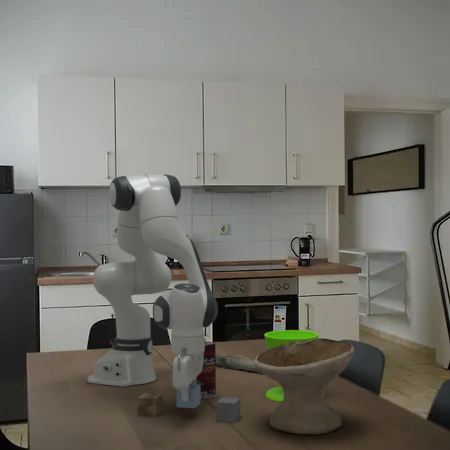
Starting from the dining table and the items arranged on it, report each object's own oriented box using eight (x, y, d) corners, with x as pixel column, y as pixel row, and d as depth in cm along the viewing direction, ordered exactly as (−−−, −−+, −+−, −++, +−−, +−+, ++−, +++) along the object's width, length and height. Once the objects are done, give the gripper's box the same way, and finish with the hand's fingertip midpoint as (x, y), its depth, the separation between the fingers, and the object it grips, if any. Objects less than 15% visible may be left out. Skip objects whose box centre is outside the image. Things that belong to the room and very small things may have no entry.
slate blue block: (176, 407, 176) (176, 388, 176) (183, 401, 181) (182, 383, 181) (194, 408, 175) (194, 389, 175) (200, 403, 180) (200, 384, 180)
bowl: (258, 409, 183) (256, 336, 183) (350, 410, 181) (349, 336, 181) (252, 439, 158) (250, 355, 158) (360, 441, 155) (358, 355, 155)
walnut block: (138, 416, 179) (138, 397, 179) (145, 411, 184) (145, 392, 184) (155, 417, 178) (155, 398, 178) (162, 412, 182) (162, 393, 182)
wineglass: (258, 400, 193) (257, 337, 192) (273, 387, 208) (272, 329, 207) (313, 404, 187) (312, 340, 187) (324, 390, 202) (323, 331, 202)
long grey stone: (276, 382, 219) (293, 378, 227) (277, 366, 219) (294, 363, 227) (198, 363, 242) (216, 360, 250) (199, 349, 242) (217, 346, 250)
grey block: (217, 421, 173) (216, 402, 173) (222, 416, 178) (221, 397, 178) (235, 422, 172) (235, 403, 171) (240, 417, 176) (240, 398, 176)
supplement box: (191, 401, 192) (190, 346, 192) (183, 397, 197) (182, 343, 197) (217, 397, 197) (216, 343, 197) (209, 393, 201) (208, 340, 201)
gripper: (190, 353, 167) (191, 408, 167) (207, 338, 187) (207, 387, 187) (166, 353, 168) (166, 407, 168) (185, 338, 188) (185, 387, 188)
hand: (188, 397), depth 178 cm, fingers closed on slate blue block, 5 cm apart
